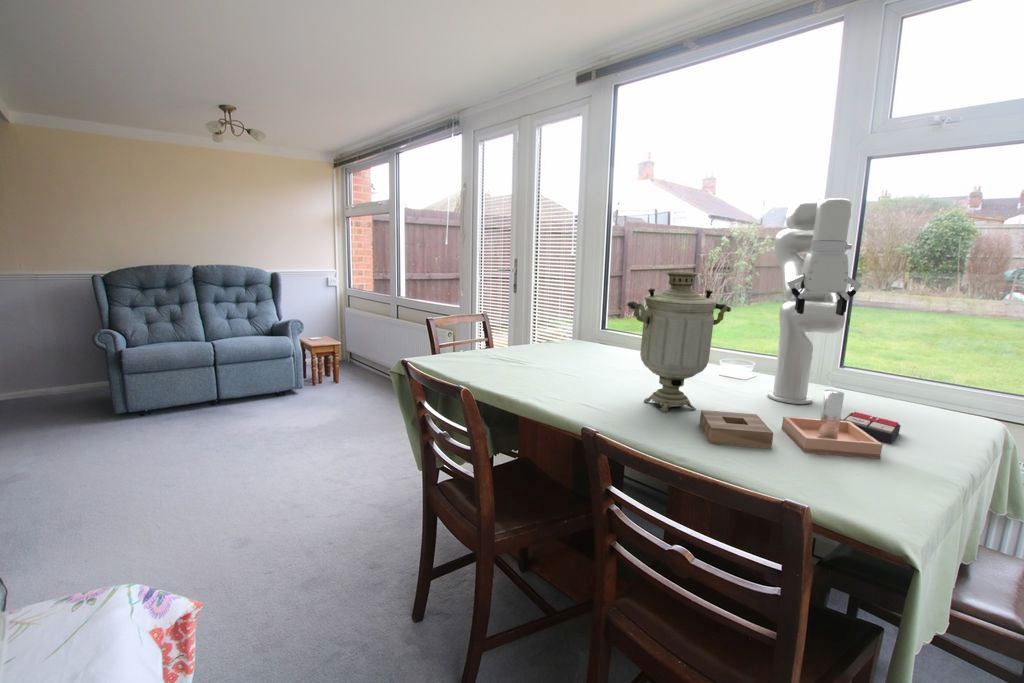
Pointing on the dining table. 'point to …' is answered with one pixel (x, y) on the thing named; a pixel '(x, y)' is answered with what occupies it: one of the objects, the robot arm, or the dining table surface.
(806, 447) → the tray
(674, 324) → the samovar
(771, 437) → the wooden square hole block
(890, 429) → the calculator
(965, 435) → the dining table surface
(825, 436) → the pin
